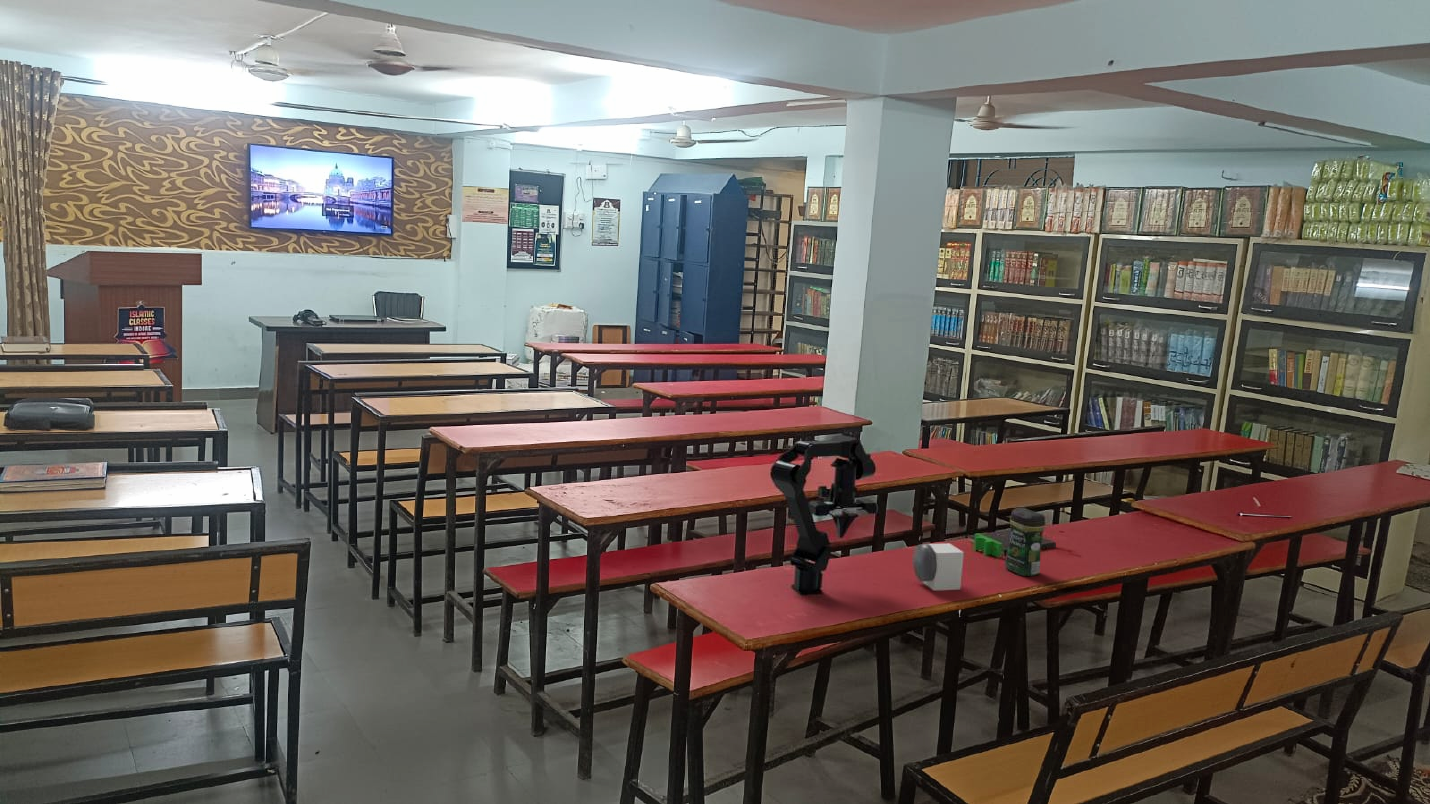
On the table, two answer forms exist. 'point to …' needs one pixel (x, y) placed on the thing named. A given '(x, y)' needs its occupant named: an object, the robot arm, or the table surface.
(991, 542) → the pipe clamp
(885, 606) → the table surface
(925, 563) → the knob
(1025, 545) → the coffee jar
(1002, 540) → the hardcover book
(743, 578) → the table surface
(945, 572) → the block
